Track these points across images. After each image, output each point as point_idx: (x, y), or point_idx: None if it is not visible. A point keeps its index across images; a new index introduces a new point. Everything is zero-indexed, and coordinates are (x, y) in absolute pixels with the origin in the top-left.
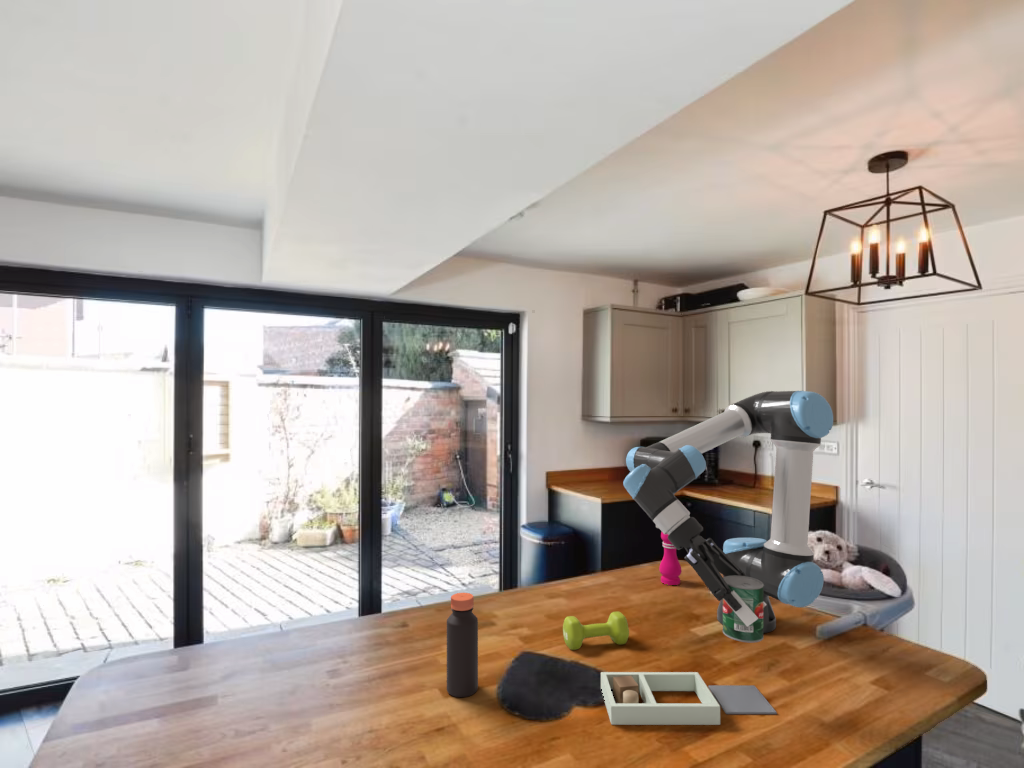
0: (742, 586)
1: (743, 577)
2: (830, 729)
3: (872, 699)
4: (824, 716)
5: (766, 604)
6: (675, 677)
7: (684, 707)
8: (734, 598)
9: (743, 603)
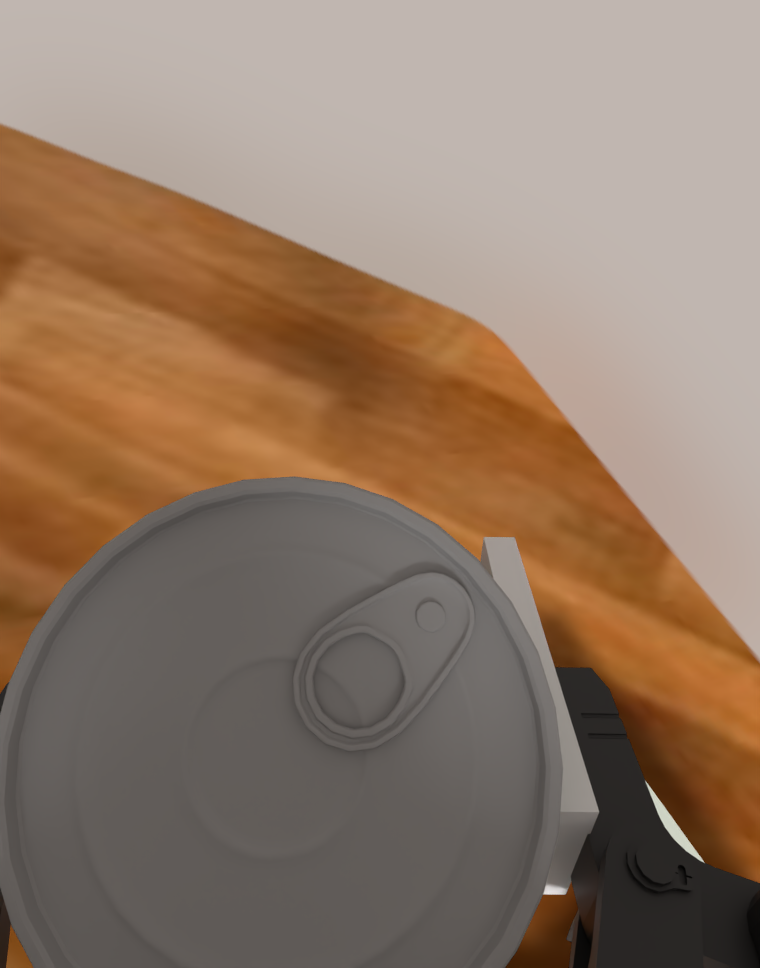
0: (460, 717)
1: (16, 799)
2: (371, 382)
3: (113, 291)
4: (304, 403)
5: None
6: None
7: (668, 813)
8: (586, 760)
9: (549, 656)
